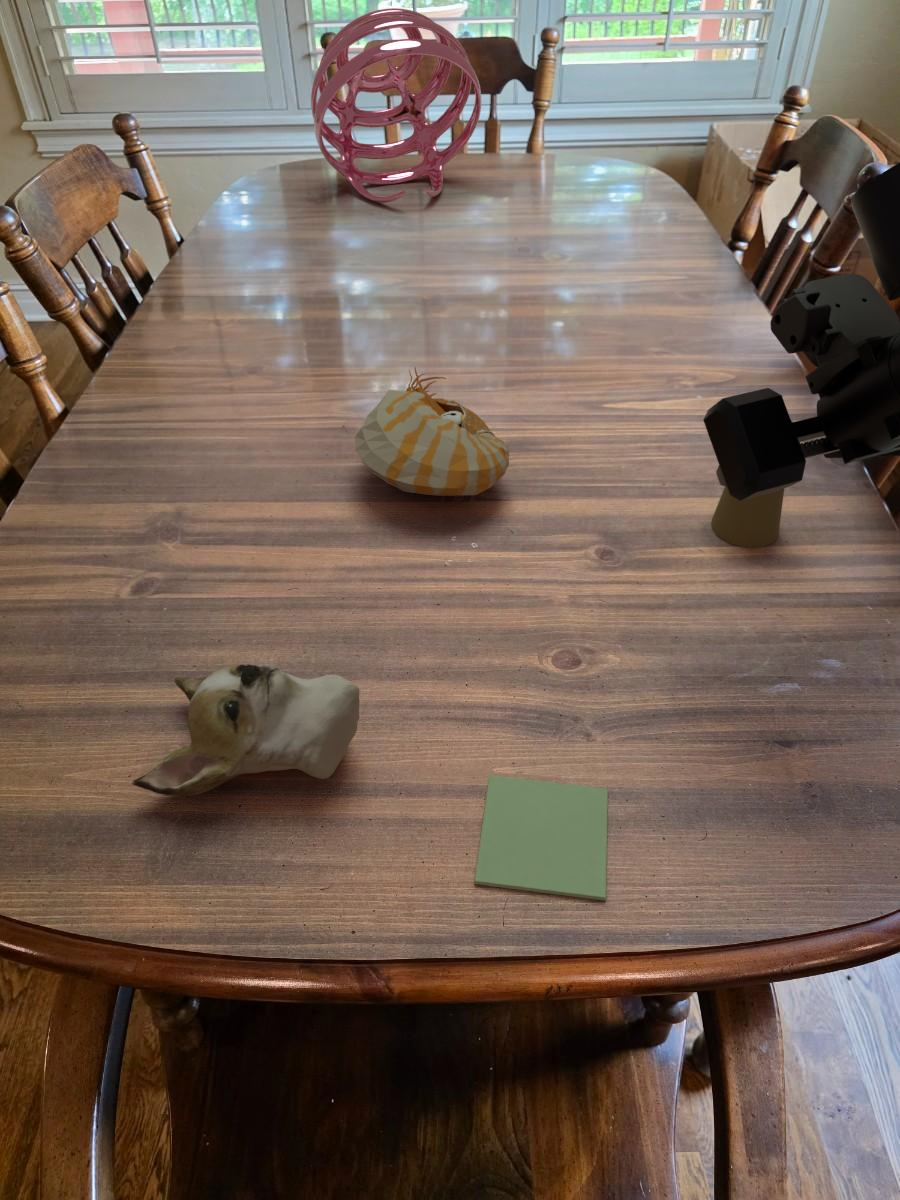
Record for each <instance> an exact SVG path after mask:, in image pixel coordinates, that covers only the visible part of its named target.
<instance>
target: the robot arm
mask: <svg viewBox="0 0 900 1200" xmlns="http://www.w3.org/2000/svg"><path fill="white" fill-rule="evenodd" d="M850 206H851V208H852V212H853V214H854V216H855V219H856V222H857V224H858V226H859V229H860V232H861V235H862V237H863V239H864V242H865V245H866V248H867V250H868V252H869V256H870V258H871V261H872V263H873V266H874V268H875V270H876V273H877V276H878V278H879V281H880V284H881V286H882V288H883V291H884V293H885V295H886V297H887V299H888V301H889V302H891V301H895V300H897V299H900V161H899V162H897V163H896V164H894V165H893V166H891V167H890V168H888V169H886V170H885V171H883V172H882V173H878V174H874V175H872V176H871V177H869V178H868V179H867V180H865V182H864V183H862V184H861V185H860V187H859V188H858V189H857V190H856V191H855V192H854V194H853V195H852V198H851V200H850ZM888 301H887V300H886V299H885V298H884V297H883V296H882V294H881V293H880V292H879V291H878V290H877V288H876V287H875V286H874V285H873V283H872V282H871V281H870V280H869V279H868V278H867V277H865V276H863V275H862V274H858V273H844V274H840V275H835V276H829V277H824V278H819V279H814V280H810V281H808V282H806V283H805V284H804V286H803V287H799V288H794V289H792V290H791V292H790V294H789V295H788V296H787V297H786V298H781V299H779V300H778V302H777V304H776V309H775V311H774V314H773V315H772V317H771V319H770V321H769V323H770V331H771V332H772V334H773V335H774V337H775V338H776V340H777V341H778V342H779V344H781V346H782V347H783V349H784V350H785V351H786V353H787V354H796V353H803V354H804V355H805V357H806V358H807V359H808V361H809V362H810V363H811V364H812V365H813V366H815V369H814V370H812V371H811V372H810V373H808V374H806V375H805V381H806V383H807V385H808V388H809V391H810V393H811V394H812V395H817V394H818V396H819V399H818V400H817V401H816V415H817V416H813V417H808V418H805V419H801V420H796V421H793V422H791V420H792V419H791V416H790V414H789V411H788V408H787V406H786V403H785V400H784V398H783V395H782V394H780V393H778V392H777V391H775V390H773V389H772V388H769V387H765V388H761V389H757V390H752V391H748V392H744V393H739V394H735V395H731V396H727V397H723V398H721V399H720V400H718V401H717V402H716V403H715V404H714V405H712V406H710V408H708V409H707V411H706V413H705V415H704V418H703V419H702V421H703V424H704V426H705V429H706V432H707V434H708V437H709V440H710V444H711V446H712V449H713V451H714V454H715V457H716V460H717V464H718V467H717V468H716V471H715V472H716V477H717V480H718V483H719V485H720V486H721V487H725V486H726V487H727V488H728V491H729V494H730V495H731V496H733V497H734V498H736V499H738V500H739V501H743V500H747V499H751V498H754V497H758V496H762V495H765V494H769V493H773V492H776V491H780V490H783V489H784V490H785V489H786V488H790V487H792V486H794V485H795V484H798V483H800V482H802V481H803V478H804V473H805V469H806V463H807V459H812V458H816V457H819V456H824V458H825V459H842V461H843V464H844V465H846V464H850V463H855V462H858V461H862V460H866V459H870V458H877V457H879V458H880V457H900V321H899V316H898V314H897V312H896V311H895V309H894V308H893V307H892V306H891V305H890V303H889V302H888ZM809 440H810V441H809ZM799 442H800V444H799Z"/></svg>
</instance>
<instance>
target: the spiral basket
mask: <svg viewBox="0 0 900 1200" xmlns="http://www.w3.org/2000/svg"><path fill="white" fill-rule="evenodd" d="M391 29H401V30H402V31H404V33H405V35H406V37H407V38H404V39H403V38H402V39H397V40H396V39H395V40H391V41H387V42H384V43H381V44H378V45H377V44H376V45H375V46H372V47H370V48H368V49H366V50H364V51H362V52H360V53H358V54H357V55H355V56H354V57H352V58H351V59H349V50H350V47H351V46H352V45H354V44H355V43H357V42H358V41H360V40H362V39H365V38H367V37H368V36H370V35H373V34H376V33H379V32H382V31H386V30H391ZM420 29H422V30H426V31H429V32H430V31H431V33H432V35H433V36H434V38H435V40H430V39H425V38H423V35H422V33H421V30H420ZM450 43H451V44H452V45H453V46H454V47H455V49H454V48H453V47H451V45H450ZM423 56H428V57H435V58H437V64H436V66H435V70H434V72H433V74H432V76H431V77H430V79H429V81H428V82H427V83H426V84H425V86H424V87H423V88H422V89H421V90H420V91H419V92H418V93H416V94H414V93H412V91H410V89H409V87H408V84H407V82H408V80H409V79H410V78H411V77H412V76H413V75H414V74H415V72H416V71H417V70H418V68H419V66H420V63H421V62H422V59H423ZM399 57H405V58H404V59H403V60H402V62H401V63H400V64H399V65H398V66H395V64H393V63H392V61H391V60H390V59H394V58H395V59H396V58H399ZM334 61H335V67H336V70H337V71H336V72H335V73H334V74H333V75H332V76H331V78H330V79H328V74H327V71H328V69H329V67H330V66H331V64H332V63H333V62H334ZM384 61H385V63H386V65H387V68H388V72H387V73H385V74H381V75H366V74H365V72H366V69H369V68H370V67H372V66H375V65H377V64H379V63H382V62H384ZM452 64H454V65H455V66H457V67H458V68H460V69H461V79H460V83H459V86H458V90H457V92H456V94H455V96H454V98H453V100H452V101H451V103H450V105H449V106H448V107H447V109H446V110H445V111H444V112H443V113H442V115H440V117H438V118H437V119H436V120H435V121H434V122H432V123H428V122H427V121H426V119H425V117H424V113H425V110H426V109H427V107H429V106H430V105H431V104H432V103H433V102H434V101H435V100H436V99H437V98H438V96H439V95H440V94H441V92H442V90H443V89H444V87H445V85H446V84H447V81H448V79H449V76H450V72H451V68H452ZM311 85H312V86H311V91H310V109H311V114H312V119H313V129H314V135H315V139H316V143H317V145H318V148H319V150H320V152H321V154H322V155H323V157H324V159H325V160H326V161H327V163H328V164H329V166H331V167H332V168H333V169H334V170H336V171H337V172H338V173H339V174H341V175H342V176H343V177H345V178H346V180H348V182H349V183H350V184H351V185H352V187H353V188H354V190H356V192H357V193H358V194H360V195H361V196H362V197H364V198H365V199H367V200H369V201H371V202H373V203H374V202H375V203H381V204H388V203H392V202H396V201H398V200H400V199H402V198H403V197H404V196H406V195H407V190H406V189H405V190H401V191H398V192H396V193H394V194H390V195H384V196H381V195H375V194H372V193H371V192H369V191H368V190H367V189H366V188H365V186H364V185H363V184H370V185H377V186H378V185H381V186H382V185H383V186H384V185H395V184H396V185H397V184H402V183H406V182H410V181H413V180H416V179H420V178H422V177H428V178H429V180H430V184H431V186H430V187H431V189H430V188H428V187H424V189H423V190H424V193H425V194H426V195H427V196H428V197H430V198H435V197H437V196H438V195H439V194H440V193H442V190H443V186H444V175H443V174H444V173H443V169H444V168H445V166H446V165H447V163H449V162H450V161H451V160H452V159H453V158H454V157H455V156H456V155H458V154H459V153H460V152H461V150H462V149H463V148H464V147H465V146H466V145H467V143H468V142H469V141H470V139H471V137H472V136H473V135H474V132H475V130H476V128H477V125H478V123H479V120H480V116H481V112H482V91H481V90H482V89H481V85H480V82H479V78H478V76H477V73H476V71H475V69H474V68H473V66H472V65H471V62H470V59H469V57H468V54H467V52H466V50H465V48H464V47H463V45H462V44H461V42H460V41H459V40H458V39H457V37H456V36H455V35H454V34H453V33H452V32H450V31H449V30H448V29H447V28H445V27H444V26H442V25H440V24H438V23H437V22H435V21H434V20H432V19H431V18H430V17H428V16H426V15H424V14H422V13H420V12H418V11H415V10H411V9H407V8H397V7H396V8H395V7H393V8H381V9H377V10H373V11H370V12H367V13H365V14H363V15H360V16H358V17H356V18H354V19H353V20H351V21H350V22H349V23H347V24H346V25H345V26H343V27H342V28H341V29H340V30H339V31H338V32H336V33H335V35H334V36H333V38H332V39H331V40H330V42H328V44H327V46H326V48H325V50H324V51H323V54H322V56H321V59H320V63H319V66H318V68H317V70H316V72H315V75H314V77H313V81H312V84H311ZM345 85H347V87H348V91H347V95H346V98H345V99H344V100H341V99H339V98H338V97H337V94H338V92H339V91H341V89H342V88H343V87H344V86H345ZM472 85H473V89H474V105H473V109H472V112H471V114H470V117H469V119H468V121H467V123H466V125H465V126H464V128H463V130H462V131H461V132H460V134H459V135H457V137H456V138H455V140H453V142H451V143H450V144H449V145H448V146H447V147H446V148H445V149H442V150H438V148H437V141H438V139H439V138H440V137H441V136H443V135H444V134H445V132H447V131H448V130H449V129H450V128H451V127H452V126H453V125H454V123H456V121H457V119H458V118H459V117H460V116H461V114H462V112H463V110H464V108H465V106H466V105H467V102H468V99H469V96H470V93H471V89H472ZM318 90H319V91H318ZM389 90H397V92H398V93H399V95H400V97H401V98H400V99H401V102H400V103H399V105H397V106H394V107H391V108H386V109H380V110H366V109H365V110H364V109H360V108H358V107H357V105H356V101H357V96H358V94H359V93H361V92H363V93H369V94H374V93H383V92H387V91H389ZM318 92H319V94H320V95H319V97H318ZM317 97H318V99H317ZM327 109H328V110H329V111H330V112H331V113H332V114H333V115H335V116H336V118H337V119H338V121H339V132H338V133H337V132H335V131H334V130H332V128H330V127H329V126H328V125H327V123H326V122H325V120H324V119H325V115H326V112H327ZM402 122H409V123H410V124H411V125H412V128H413V133H412V134H411V135H410V136H409V137H407V138H404V139H401V140H397V141H393V142H388V143H387V142H386V143H375V144H373V143H372V144H371V143H370V144H369V143H363V142H358V141H356V140H355V139H354V137H353V135H352V134H353V133H352V132H353V129H354V127H362V128H383V127H388V126H393V125H397V124H399V123H402ZM323 139H324V140H325V141H326V142H327V143H328V144H329V145H331V146H332V147H333V148H334V149H335V150H336V151H337V152H338V153H339V156H340V160H341V161H339V160H338V159H336V158H335V157H334V156H333V155H332V154H331V152H329V151H328V149H327V147H326V146H325V143H324V140H323ZM415 152H420V153H421V154H422V156H423V159H422V161H421V162H420V163H419V164H416V165H414V166H411V167H409V168H405V169H404V168H403V169H401V170H395V171H389V172H373V171H371V172H370V171H364V170H361V169H359V168H358V167H357V166H356V164H355V159H357V158H358V159H359V158H360V159H367V160H386V159H393V158H398V157H401V156H402V157H403V156H405V155H407V154H411V153H415Z"/></svg>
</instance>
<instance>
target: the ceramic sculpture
mask: <svg viewBox="0 0 900 1200" xmlns="http://www.w3.org/2000/svg"><path fill="white" fill-rule="evenodd" d="M174 684H175V685H176V686H177V687H178V688H179V689H180V690H181V691H182V693H184V695H185V696H186V698H187V699H188V701H189V705H188V709H187V727H188V732H189V736H190V740H191V743H190V744H189V745H185V746H183V747H182V748H180V749H177V750H175V751H173V752H171V753H169V754H168V755H167V756H166V757H164V758H163V760H162V762H160V763H159V764H157V766H156V767H154V768H153V769H152V770H150V771H149V772H148V773H146V774H143V775H142V776H140V777H138V778H136V779H134V780H132V781H131V785H132V786H135V787H139V788H141V789H144V790H147V791H151V792H152V793H155V794H159V795H165V796H177V797H189V796H190V797H191V796H197V795H201V794H203V793H207V792H209V791H211V790H213V789H215V788H217V787H219V786H221V785H222V784H224V783H226V782H228V781H231V780H233V779H234V778H236V777H237V776H239V775H244V774H257V773H263V772H274V771H287V770H298V771H302V772H303V773H305V774H307V775H309V776H311V777H313V778H317V779H319V780H325V779H329V778H330V777H331V776H332V775H333V774H334V773H335V771H336V770H337V768H338V766H339V764H340V763H341V761H342V760H343V758H344V757H345V755H346V754H347V751H348V748H349V746H350V743H351V742H352V741H353V738H354V737H355V735H356V733H357V731H358V723H359V720H360V688H359V686H358V685H356V684H353V683H352V682H350V680H348V679H346V678H345V677H343V676H341V675H337V674H326V675H323V676H318V677H314V678H306V679H305V678H301V677H299V676H295V675H292V674H291V673H287V672H284V671H283V670H280V669H279V668H278V667H277V666H276V665H275V664H271V663H262V664H259V665H258V664H257V665H256V664H255V665H254V664H253V665H252V664H238V665H227V666H222V667H220V668H218V669H216V670H215V671H213V672H212V673H210V674H209V675H207V676H205V677H203V678H191V677H175V678H174Z"/></svg>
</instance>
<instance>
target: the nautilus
mask: <svg viewBox="0 0 900 1200" xmlns="http://www.w3.org/2000/svg"><path fill="white" fill-rule="evenodd" d="M408 373H409V377H410V382H409V383H408V384H407V385H408V386H407V388H406V391H405V390H398V389H397V390H396V389H388V391H387V392H386V393H385V394H384V396H383V397H382V398H381V399H380V401H379V402H378V404H377V405H376V406H375V407H374V408H373V409H372V410H371V411H369V413H368V414H367V415H366V416H365V417H366V418H365V420H364V422H363V424H362V426H361V427H360V429H359V430H358V432H357V433H356V434H355V436H354V450H355V452H356V454H357V456H358V457H359V459H360V461H361V462H362V464H364V465H365V466H366V467H367V470H369V471H370V472H371V473H372V474H374V475H375V476H376V477H378V478H380V479H381V480H382V481H384V482H385V483H386V484H389V485H391V486H393V487H394V488H397V489H399V490H401V491H402V492H404V493H412V494H420V495H426V496H427V495H428V496H437V497H438V496H440V497H441V496H442V497H443V496H444V497H447V496H448V497H450V496H451V497H454V496H477V495H479V494H482V493H483V492H485V491H487V490H488V489H490V488H492V487H493V486H494V485H496V484H497V483H498V482H499V481H500V479H501V478H502V477H503V476H504V475H505V474H506V472H507V470H508V468H509V465H510V450H509V447H508V446H507V444H506V443H505V442H504V440H502V439H500V438H499V437H497V436H496V435H495V434H494V433H493V431H491V430H490V428H489V426H488V425H487V424H486V422H485V421H484V420H483V419H482V418H481V417H479V415H477V413H476V412H474V411H472V410H470V409H469V408H466V407H465V406H463V405H462V404H460V403H458V402H457V401H455V400H448V399H445V398H442V397H439V398H437V397H436V398H435V397H434V398H432V397H433V396H435V395H436V394H438V393H437V392H436V393H431V394H429V393H428V392H430V390H427V388H428V387H430V386H431V385H432V384H434V383H436V382H437V381H436V379H442V380H443V379H444V380H447V378H446V377H443V376H430V377H426V378H422V379H420V380H419V378H420V377H422V376H424V375H426V374H425V373H421V374H419V375H418V372H417V367H416V366H415V367H414V373H415V378H414V380H413V375H412V374H411V369H408ZM434 379H435V380H434ZM431 380H433V381H431ZM426 381H431V382H429V383H428V384H426V385H425V386H424V387H423V385H422V382H426ZM418 386H419V387H418Z"/></svg>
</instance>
